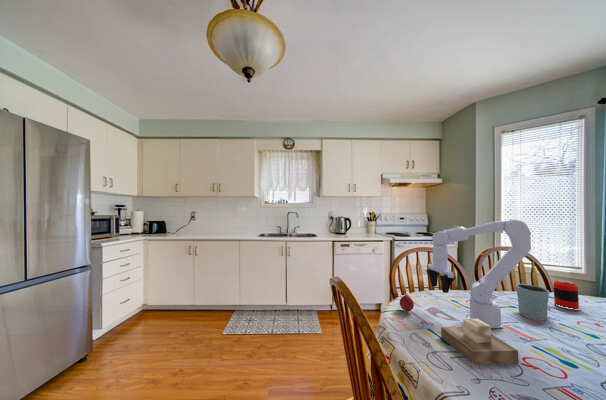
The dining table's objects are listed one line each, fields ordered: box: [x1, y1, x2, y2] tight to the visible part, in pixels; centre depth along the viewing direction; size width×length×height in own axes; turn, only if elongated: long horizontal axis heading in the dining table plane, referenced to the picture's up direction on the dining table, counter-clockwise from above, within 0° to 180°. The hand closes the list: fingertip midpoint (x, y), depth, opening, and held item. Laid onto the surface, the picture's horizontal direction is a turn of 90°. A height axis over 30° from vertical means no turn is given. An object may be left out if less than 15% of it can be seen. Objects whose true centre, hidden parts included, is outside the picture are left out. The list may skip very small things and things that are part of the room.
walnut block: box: [440, 326, 520, 365], centre depth 73 cm, size 14×14×4 cm
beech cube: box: [463, 318, 492, 343], centre depth 72 cm, size 5×5×5 cm
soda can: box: [552, 279, 580, 309], centre depth 106 cm, size 8×8×12 cm
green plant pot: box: [515, 283, 550, 320], centre depth 97 cm, size 10×10×12 cm
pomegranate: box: [399, 293, 415, 313], centre depth 99 cm, size 6×6×8 cm
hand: (439, 289), depth 99 cm, fingers open, 7 cm apart
